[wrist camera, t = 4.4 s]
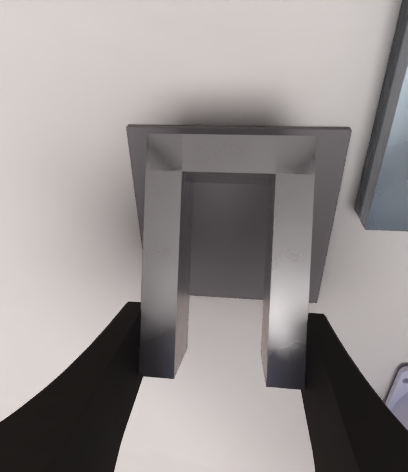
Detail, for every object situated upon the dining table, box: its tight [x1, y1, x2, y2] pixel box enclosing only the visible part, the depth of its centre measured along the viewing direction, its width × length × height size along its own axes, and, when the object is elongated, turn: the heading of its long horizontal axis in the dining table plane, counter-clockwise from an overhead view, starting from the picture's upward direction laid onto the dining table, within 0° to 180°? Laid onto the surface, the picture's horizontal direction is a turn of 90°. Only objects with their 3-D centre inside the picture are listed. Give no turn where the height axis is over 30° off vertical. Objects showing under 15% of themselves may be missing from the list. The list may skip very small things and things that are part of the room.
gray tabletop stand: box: [138, 134, 317, 390], centre depth 13 cm, size 8×5×3 cm
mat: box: [126, 125, 352, 303], centre depth 19 cm, size 10×10×1 cm
